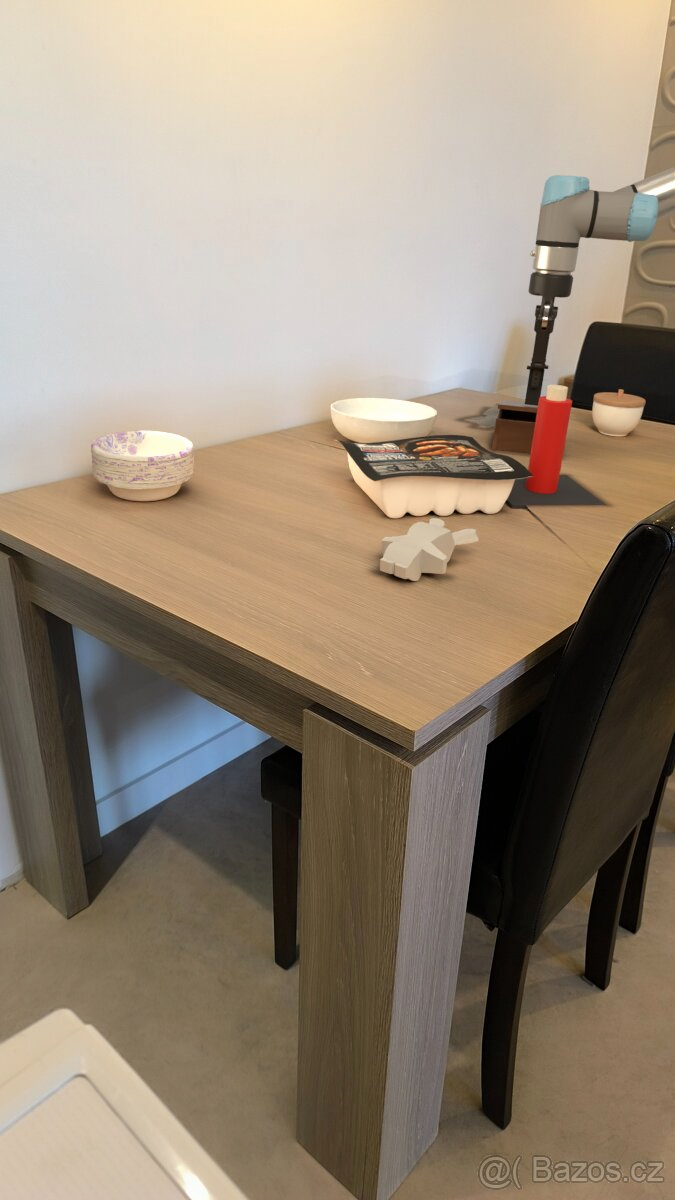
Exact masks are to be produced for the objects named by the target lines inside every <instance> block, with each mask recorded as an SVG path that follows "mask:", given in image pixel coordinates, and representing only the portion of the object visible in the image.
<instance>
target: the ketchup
mask: <svg viewBox="0 0 675 1200" xmlns="http://www.w3.org/2000/svg"><path fill="white" fill-rule="evenodd" d="M568 391H569V387H568V386H565V385H560V384H549V385H547V387H546V393H545V395H544V396H543V395H542V396H540V398H539V403H538V409H537V416H536V422H535V429H534V435H533V441H532V448H531V454H529V455H530V456H529V461H528V468H527V470H528V471H529V472H530V473H531V474H532V475H533V476H532V477H527V480H526V486H525V487H526V489H527V490H529V491H532V492H535V493H541V494H551V493H555V492H556V491H557V487H558V481H559V475H561V470H562V462H563V458H564V453H565V452H564V451H565V446H566V440H567V434H568V429H569V423H570V417H571V412H572V404H573V400H572V399H570V398H567V397H568Z"/></svg>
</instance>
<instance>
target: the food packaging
mask: <svg viewBox="0 0 675 1200" xmlns="http://www.w3.org/2000/svg"><path fill="white" fill-rule="evenodd" d="M334 441H336V442H339V443H340V445H342V447H343V448H344V450H345V451H346V454H347V461H348V468H349V471H350V473H351V475H352V477H353V480H354V482H355V484H357V485H358V487H359V488H360V489H361V490H362V491H363V492H364V493H365V494H366V495H367V496H368V497H369V499H370V500H372V502H373V503H374V504H375V505H376V506H377V507H378V508H379V509H380V510H381V511H382V513H384V515H386V516H387V518H390V519H400V518H402V517H404V516H405V515H406V514H407V513H409V514H410V515H411V516H414V517H423V516H426V515H428V514H429V513H430V512H431V511H432V512H433V513H434V514H435V515H437V516H439V517H448V516H451V515H452V514H453V513H454V511H456V512H458V513H460V514H463V515H471V514H473V513H475V512H477V511H481V512H482V513H484V514H487V515H494V514H497V513H498V512H500V511H501V510H502V508H503V507H504V505H505V503H506V502H505V501H506V500H507V498H508V497H509V494H510V492H511V490H512V487H513V484H514V481H515V479H522V478H527V477H532V476H533V475H532V474H531V473H530V472H529V471H528V468H526V466H524V464H522V463H521V462H519V461H518V460H516V459H515V458H513V457H511V456H508V455H506V454H502V453H496V452H493V451H491V450H488V449H486V448H485V447H484V446H482V445H481V444H480V443H479V442H478V441H477V440H476V439H474V437H473V436H467V435H463V434H462V435H459V434H440V435H439V434H437V435H427V436H425V437H416V438H408V439H401V440H393V441H385V442H374V443H358V442H349V441H343V440H338V439H334Z"/></svg>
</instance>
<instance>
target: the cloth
mask: <svg viewBox="0 0 675 1200" xmlns="http://www.w3.org/2000/svg"><path fill="white" fill-rule="evenodd" d="M498 404H499V403H496V404H495V405H493V406H492V407H489V408H488V409H486V410H485V411H484V412H483V413H482V416H477V417H472V418H467V419H465V421H477V422H476V424H479V425H483V426H486V427H485V429H495V423H496V418H497V415H498V412H499V409H497V407H498Z"/></svg>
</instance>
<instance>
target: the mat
mask: <svg viewBox="0 0 675 1200" xmlns="http://www.w3.org/2000/svg"><path fill="white" fill-rule="evenodd" d="M526 480H527V478H522V479H515V481H514V484H513V487H512V490H511V492H510V494H509V497H508V498H507V500H506V501H505V503H506V504H507V506H509V508H510V509H529V507H528V506H607V504H606V503H605V502H603V501H602V500H601V499H599V498H598V497H597V496H596V495H594V494H593V493H591V492H590V491H588V490H587V489H586V488H585V487H583V486H582V485H581V484H579V483H578V482H577V481H575V480H574V479H573V478H571V477H570V476H568V475H567V474H560V475H559V481H558V487H557V491H556V492H555V493H551V494H541V493H535V492H532V491H529V490H527V489H526V487H525V486H526Z"/></svg>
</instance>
